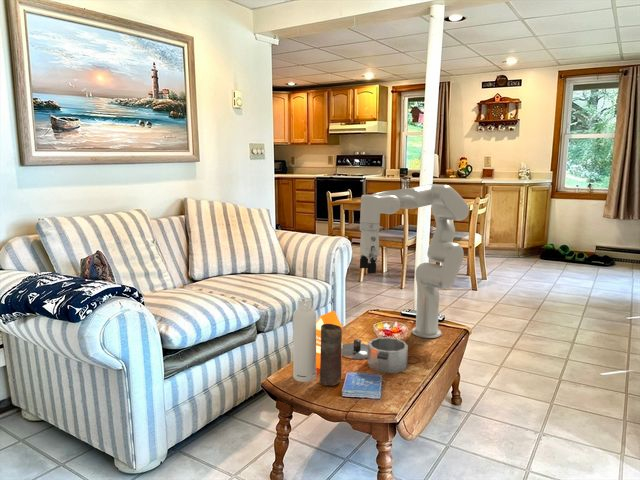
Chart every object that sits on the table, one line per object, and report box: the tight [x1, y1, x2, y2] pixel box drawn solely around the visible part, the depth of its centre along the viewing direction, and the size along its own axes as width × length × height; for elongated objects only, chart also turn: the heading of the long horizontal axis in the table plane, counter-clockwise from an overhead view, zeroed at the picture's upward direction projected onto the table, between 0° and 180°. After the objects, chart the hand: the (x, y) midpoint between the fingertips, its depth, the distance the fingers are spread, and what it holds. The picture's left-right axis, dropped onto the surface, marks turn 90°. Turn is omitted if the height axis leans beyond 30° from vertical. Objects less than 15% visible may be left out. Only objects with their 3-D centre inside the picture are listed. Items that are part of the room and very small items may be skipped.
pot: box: [367, 336, 409, 374], centre depth 176 cm, size 19×14×8 cm
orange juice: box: [316, 310, 343, 370], centre depth 175 cm, size 8×9×20 cm
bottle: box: [292, 297, 318, 383], centre depth 164 cm, size 8×8×28 cm
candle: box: [319, 324, 343, 386], centre depth 161 cm, size 8×7×20 cm
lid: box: [342, 338, 368, 361], centre depth 188 cm, size 15×15×5 cm
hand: (367, 270), depth 185 cm, fingers open, 9 cm apart
